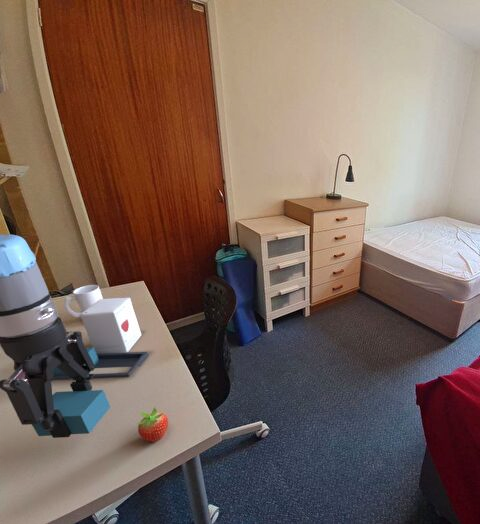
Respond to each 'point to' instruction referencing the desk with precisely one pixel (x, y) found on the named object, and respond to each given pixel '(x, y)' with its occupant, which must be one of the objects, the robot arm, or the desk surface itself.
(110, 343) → the rectangular carton
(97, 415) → the loose blue pad
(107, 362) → the backing tray
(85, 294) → the mug
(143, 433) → the fruit
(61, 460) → the desk surface
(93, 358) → the seated pad
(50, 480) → the desk surface
